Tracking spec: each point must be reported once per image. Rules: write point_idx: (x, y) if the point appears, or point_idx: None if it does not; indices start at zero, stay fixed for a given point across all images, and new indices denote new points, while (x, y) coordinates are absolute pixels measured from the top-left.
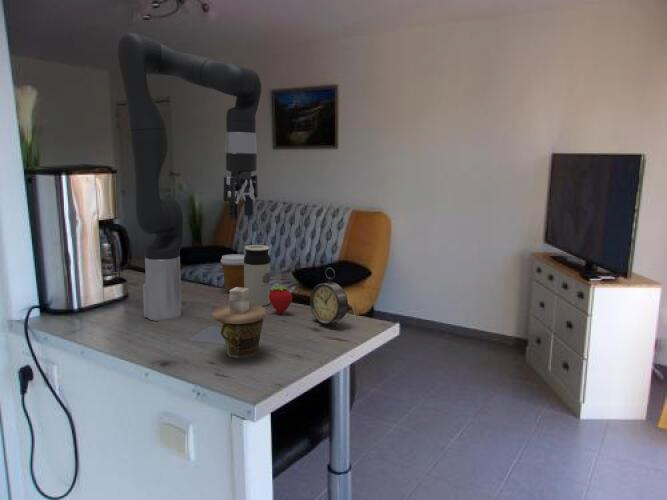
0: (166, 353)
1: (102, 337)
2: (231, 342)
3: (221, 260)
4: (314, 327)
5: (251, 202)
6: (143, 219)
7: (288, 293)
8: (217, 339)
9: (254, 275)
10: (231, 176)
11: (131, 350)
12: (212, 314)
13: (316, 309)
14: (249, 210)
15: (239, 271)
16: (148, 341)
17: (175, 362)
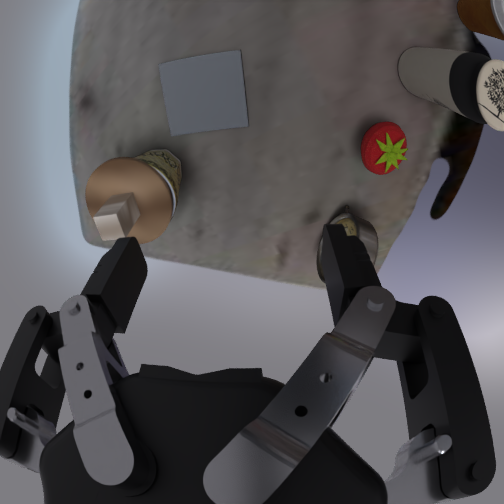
0: (109, 74)
1: None
2: None
3: None
4: (321, 212)
5: (334, 323)
6: None
7: (379, 171)
8: (183, 104)
9: (434, 82)
10: (20, 464)
11: (96, 27)
12: (91, 175)
13: (345, 223)
14: (326, 271)
15: (491, 27)
16: (134, 13)
17: (95, 109)
